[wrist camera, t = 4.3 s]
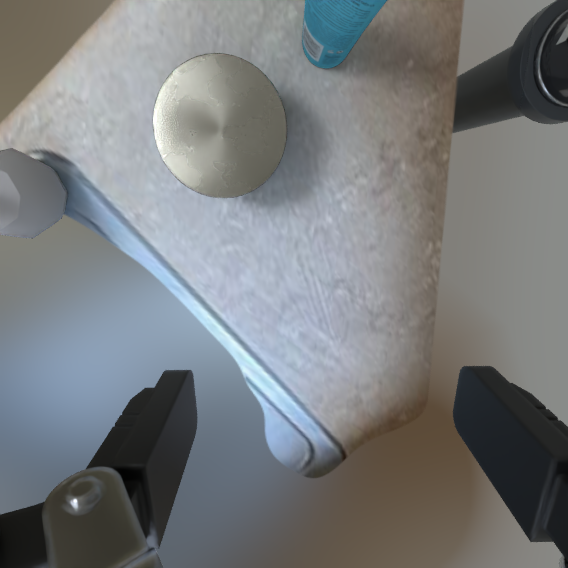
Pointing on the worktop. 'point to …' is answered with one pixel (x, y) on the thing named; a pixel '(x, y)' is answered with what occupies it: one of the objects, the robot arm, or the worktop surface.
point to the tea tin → (220, 125)
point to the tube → (335, 28)
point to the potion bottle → (28, 195)
